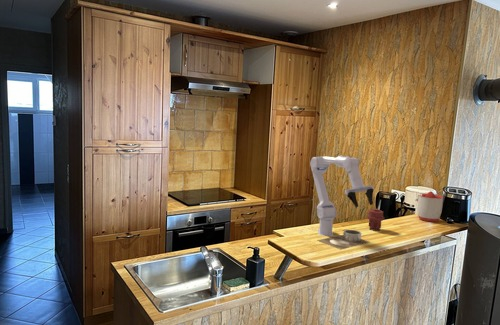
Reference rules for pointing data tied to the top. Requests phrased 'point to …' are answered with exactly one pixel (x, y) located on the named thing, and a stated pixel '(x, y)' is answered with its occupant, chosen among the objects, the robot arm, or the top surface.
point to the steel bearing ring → (352, 235)
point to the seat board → (341, 242)
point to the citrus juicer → (429, 207)
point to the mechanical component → (375, 219)
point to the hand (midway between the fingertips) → (364, 205)
